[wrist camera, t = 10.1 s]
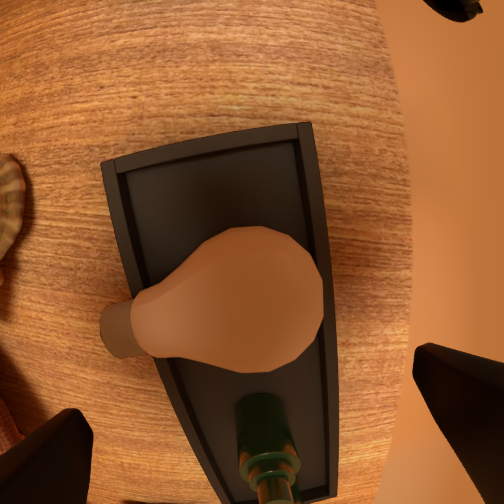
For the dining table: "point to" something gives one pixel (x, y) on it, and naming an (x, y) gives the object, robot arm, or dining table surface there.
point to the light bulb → (225, 305)
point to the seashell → (10, 203)
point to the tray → (200, 230)
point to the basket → (7, 430)
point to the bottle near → (266, 447)
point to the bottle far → (296, 492)
